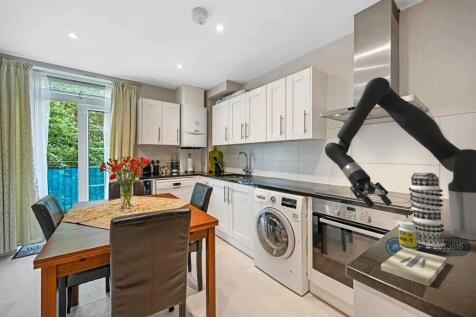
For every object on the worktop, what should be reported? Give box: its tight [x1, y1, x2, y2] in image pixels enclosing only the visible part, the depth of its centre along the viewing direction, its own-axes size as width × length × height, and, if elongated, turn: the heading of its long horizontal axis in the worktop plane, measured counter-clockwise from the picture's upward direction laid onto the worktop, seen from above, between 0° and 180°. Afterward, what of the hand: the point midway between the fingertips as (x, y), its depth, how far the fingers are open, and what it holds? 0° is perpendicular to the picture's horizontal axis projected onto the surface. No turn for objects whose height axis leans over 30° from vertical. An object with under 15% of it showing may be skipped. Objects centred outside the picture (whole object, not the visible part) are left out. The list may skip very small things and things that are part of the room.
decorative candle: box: [408, 172, 446, 248], centre depth 76 cm, size 9×9×25 cm
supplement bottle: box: [398, 221, 418, 251], centre depth 72 cm, size 5×5×8 cm
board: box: [380, 248, 448, 287], centre depth 59 cm, size 18×10×2 cm, turn 126°
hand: (381, 205), depth 81 cm, fingers open, 8 cm apart
